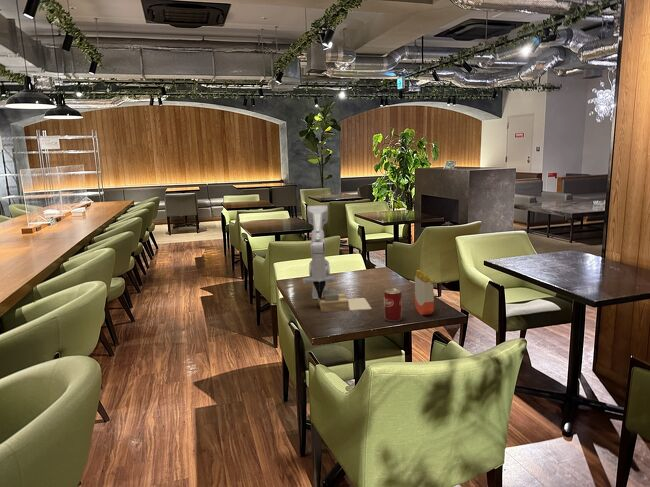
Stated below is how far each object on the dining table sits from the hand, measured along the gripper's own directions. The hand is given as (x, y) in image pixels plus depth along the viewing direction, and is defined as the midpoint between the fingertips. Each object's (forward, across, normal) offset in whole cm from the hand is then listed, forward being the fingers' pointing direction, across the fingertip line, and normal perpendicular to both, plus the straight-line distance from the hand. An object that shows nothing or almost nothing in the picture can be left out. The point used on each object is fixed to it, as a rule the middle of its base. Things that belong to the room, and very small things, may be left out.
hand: (319, 297), depth 219 cm
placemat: (+4, +17, 0) cm, 18 cm away
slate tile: (0, +5, 0) cm, 5 cm away
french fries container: (+5, +43, -17) cm, 46 cm away
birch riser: (+4, +6, 0) cm, 7 cm away
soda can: (+5, +28, -22) cm, 36 cm away
